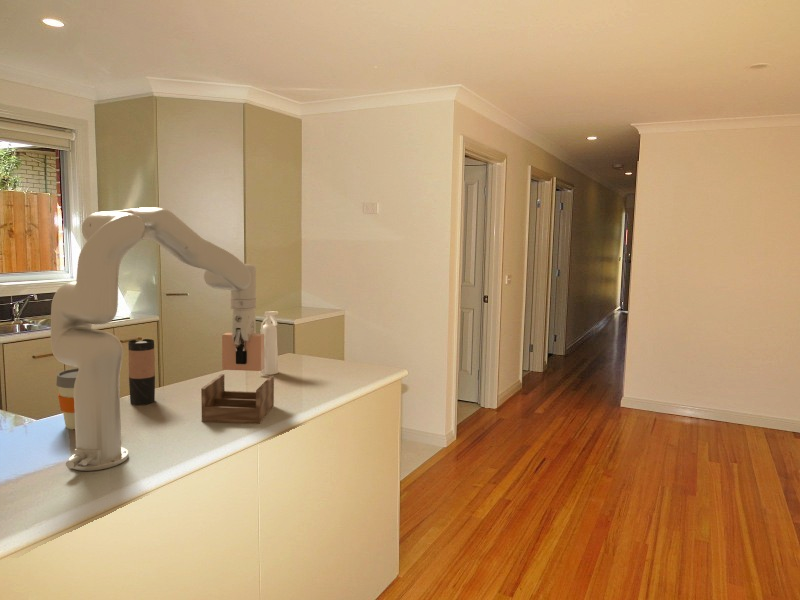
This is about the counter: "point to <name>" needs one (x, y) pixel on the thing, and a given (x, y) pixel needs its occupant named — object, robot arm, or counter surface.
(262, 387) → the wooden crate
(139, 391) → the travel mug
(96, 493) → the counter surface
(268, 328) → the white spray bottle
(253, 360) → the peach rectangular block
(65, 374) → the reusable coffee cup
